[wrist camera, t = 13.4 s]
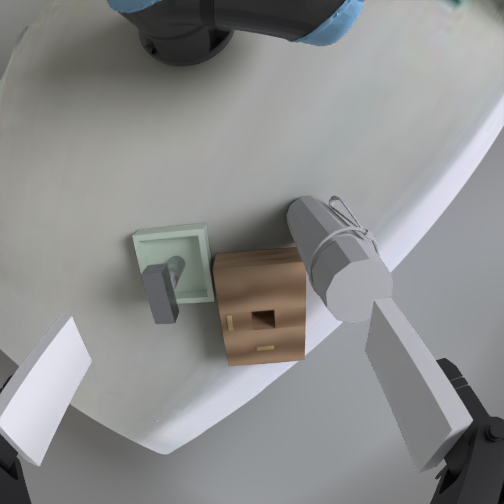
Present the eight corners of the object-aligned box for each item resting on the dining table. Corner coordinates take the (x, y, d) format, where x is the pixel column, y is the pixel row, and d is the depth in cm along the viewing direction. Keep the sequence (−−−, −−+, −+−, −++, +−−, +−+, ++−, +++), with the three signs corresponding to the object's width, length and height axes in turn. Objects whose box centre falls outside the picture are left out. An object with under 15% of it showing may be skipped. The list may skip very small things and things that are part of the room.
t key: (173, 285, 51) (155, 324, 40) (163, 242, 48) (140, 274, 37) (189, 283, 51) (175, 323, 40) (180, 241, 48) (161, 272, 37)
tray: (138, 229, 48) (132, 235, 45) (206, 222, 48) (203, 228, 45) (153, 296, 53) (149, 304, 50) (216, 292, 52) (214, 301, 50)
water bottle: (311, 246, 49) (360, 339, 26) (274, 220, 48) (299, 303, 24) (345, 203, 47) (424, 267, 23) (308, 174, 45) (370, 217, 22)
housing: (216, 253, 50) (212, 269, 44) (299, 246, 49) (306, 262, 44) (230, 345, 57) (228, 366, 51) (299, 339, 57) (304, 360, 51)
